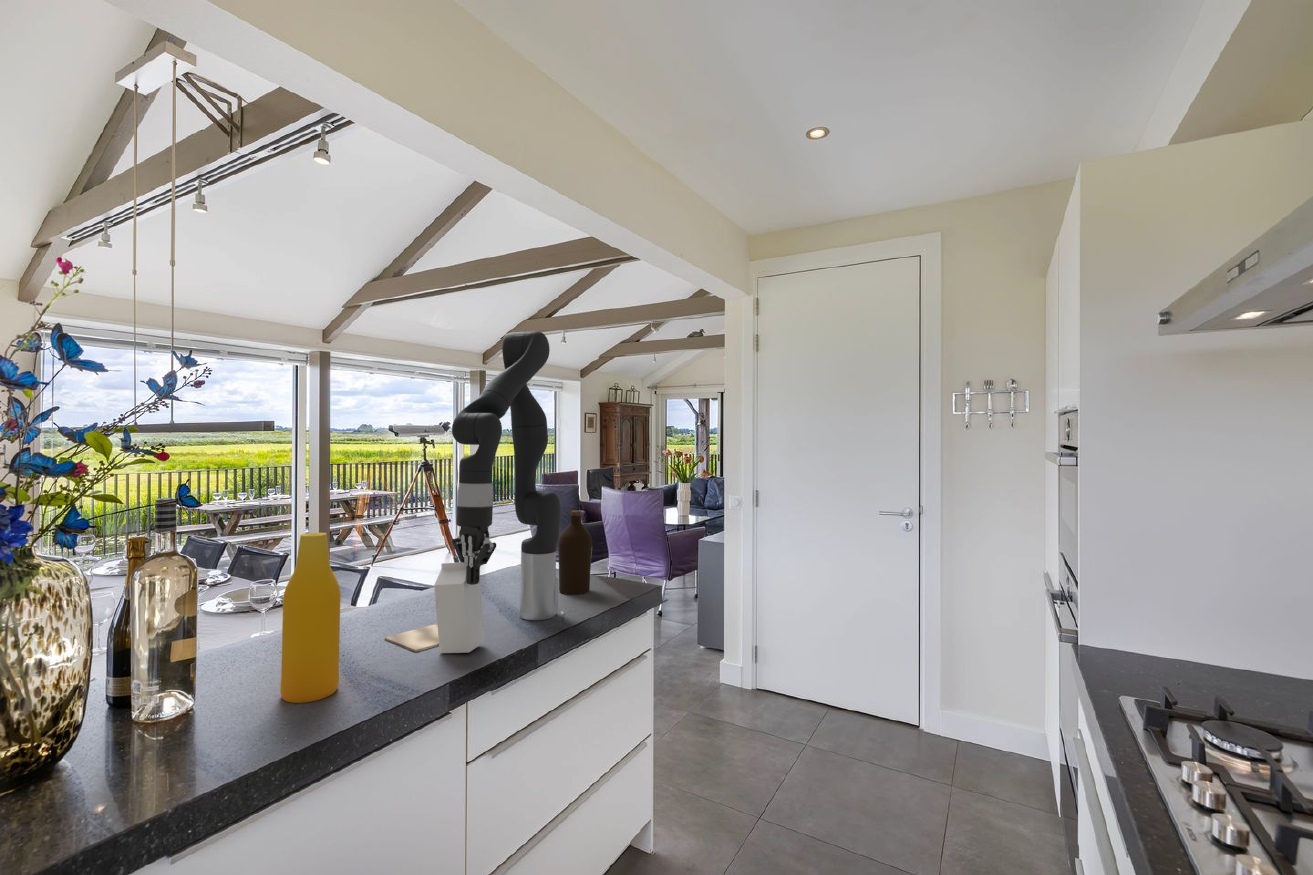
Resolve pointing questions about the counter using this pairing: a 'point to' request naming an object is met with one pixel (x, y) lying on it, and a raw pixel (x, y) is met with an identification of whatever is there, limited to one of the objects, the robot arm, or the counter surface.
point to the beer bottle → (311, 625)
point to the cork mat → (417, 638)
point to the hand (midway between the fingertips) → (472, 583)
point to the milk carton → (458, 610)
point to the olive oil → (574, 557)
